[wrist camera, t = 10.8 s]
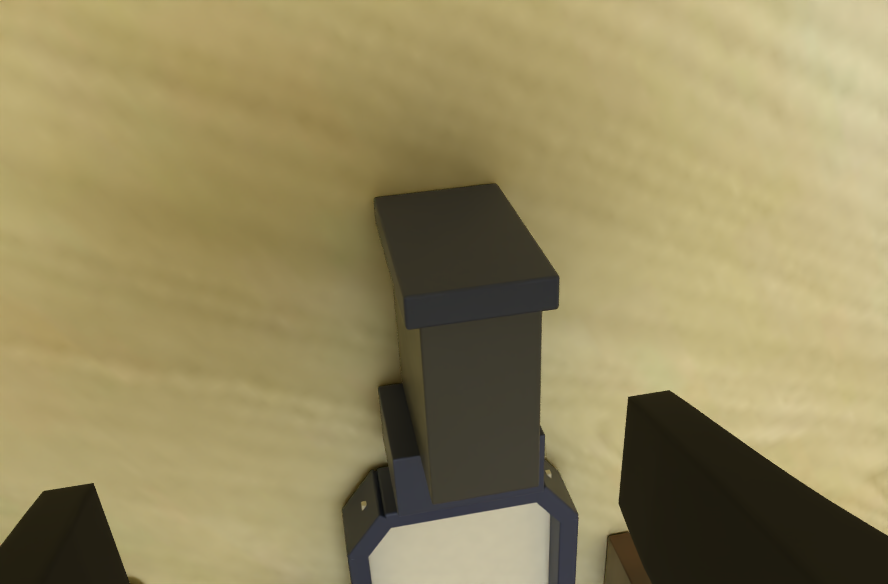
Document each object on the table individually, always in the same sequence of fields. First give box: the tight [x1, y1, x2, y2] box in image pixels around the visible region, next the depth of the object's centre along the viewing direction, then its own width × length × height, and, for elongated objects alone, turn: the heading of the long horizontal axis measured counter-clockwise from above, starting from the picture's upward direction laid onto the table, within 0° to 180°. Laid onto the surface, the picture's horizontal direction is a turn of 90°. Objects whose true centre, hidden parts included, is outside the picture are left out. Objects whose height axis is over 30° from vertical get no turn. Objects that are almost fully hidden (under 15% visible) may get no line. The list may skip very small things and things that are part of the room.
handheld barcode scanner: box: [342, 184, 578, 584], centre depth 22 cm, size 17×7×5 cm, turn 3°
